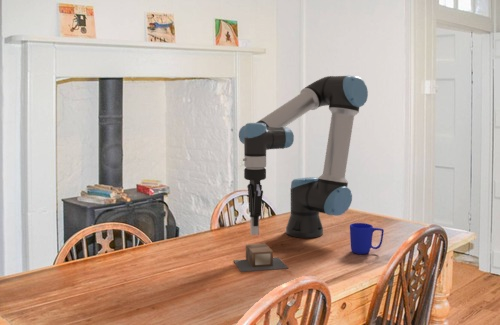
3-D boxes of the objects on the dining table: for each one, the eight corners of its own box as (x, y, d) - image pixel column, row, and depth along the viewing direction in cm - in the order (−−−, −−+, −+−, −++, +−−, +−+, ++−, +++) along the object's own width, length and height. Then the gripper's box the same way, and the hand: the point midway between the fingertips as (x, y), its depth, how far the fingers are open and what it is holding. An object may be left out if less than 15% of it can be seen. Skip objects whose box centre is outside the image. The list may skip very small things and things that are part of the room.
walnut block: (245, 244, 200) (252, 252, 190) (265, 243, 201) (273, 251, 192) (245, 258, 201) (252, 267, 191) (265, 257, 202) (272, 265, 192)
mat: (233, 261, 198) (233, 260, 198) (278, 258, 202) (278, 257, 202) (241, 271, 187) (241, 271, 187) (288, 268, 191) (288, 267, 191)
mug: (383, 256, 204) (384, 229, 203) (348, 254, 206) (349, 227, 205) (382, 250, 212) (383, 224, 211) (349, 248, 214) (350, 222, 213)
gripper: (240, 165, 204) (240, 230, 207) (248, 170, 191) (248, 239, 194) (261, 165, 205) (260, 229, 208) (270, 170, 193) (270, 238, 196)
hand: (254, 234), depth 201 cm, fingers closed
